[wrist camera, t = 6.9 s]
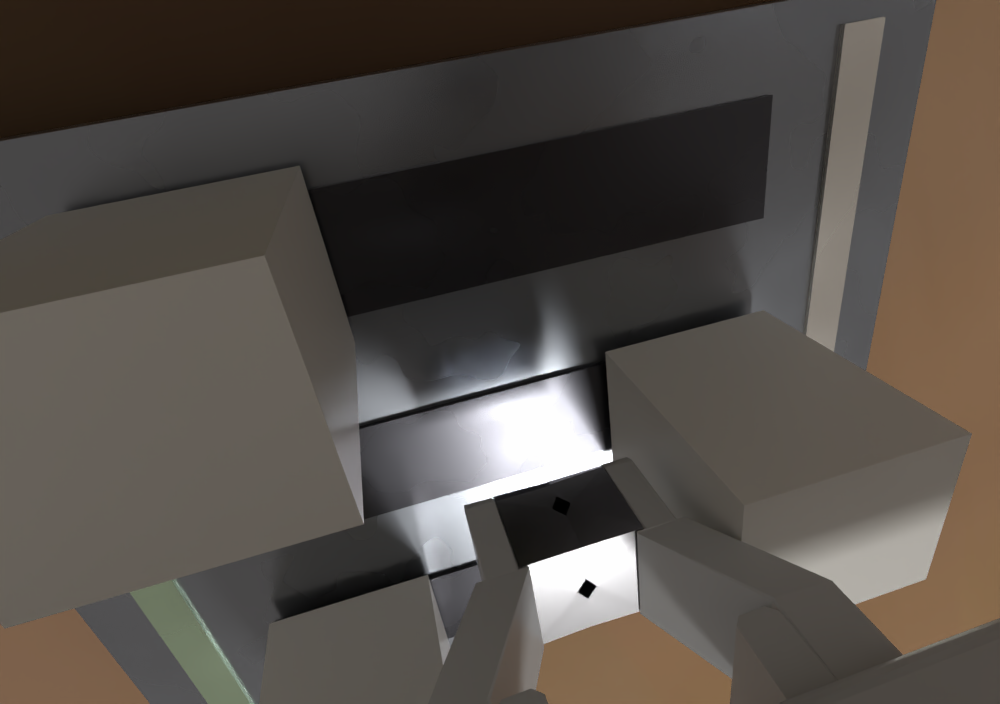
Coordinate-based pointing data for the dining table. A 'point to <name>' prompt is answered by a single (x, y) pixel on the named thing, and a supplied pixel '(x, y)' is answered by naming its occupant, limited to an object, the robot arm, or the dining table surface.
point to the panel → (515, 264)
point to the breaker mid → (788, 449)
